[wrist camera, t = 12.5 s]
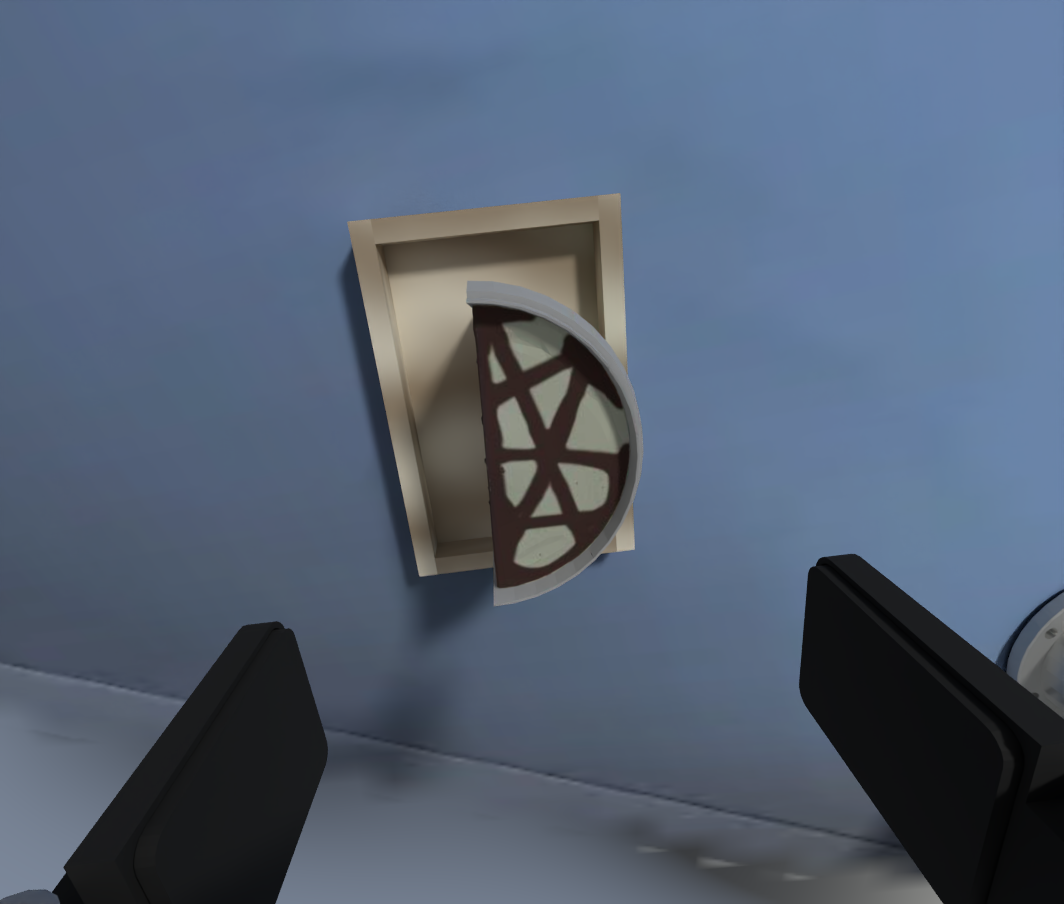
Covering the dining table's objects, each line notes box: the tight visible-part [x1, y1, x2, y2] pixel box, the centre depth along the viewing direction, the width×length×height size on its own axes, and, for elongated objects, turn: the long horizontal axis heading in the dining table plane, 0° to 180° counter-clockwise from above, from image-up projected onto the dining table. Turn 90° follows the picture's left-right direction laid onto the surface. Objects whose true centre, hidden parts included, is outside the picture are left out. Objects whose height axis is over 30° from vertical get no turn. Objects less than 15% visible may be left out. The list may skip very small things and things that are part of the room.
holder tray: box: [348, 193, 635, 577], centre depth 27 cm, size 18×12×2 cm, turn 6°
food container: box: [466, 281, 643, 606], centre depth 23 cm, size 12×6×10 cm, turn 3°
